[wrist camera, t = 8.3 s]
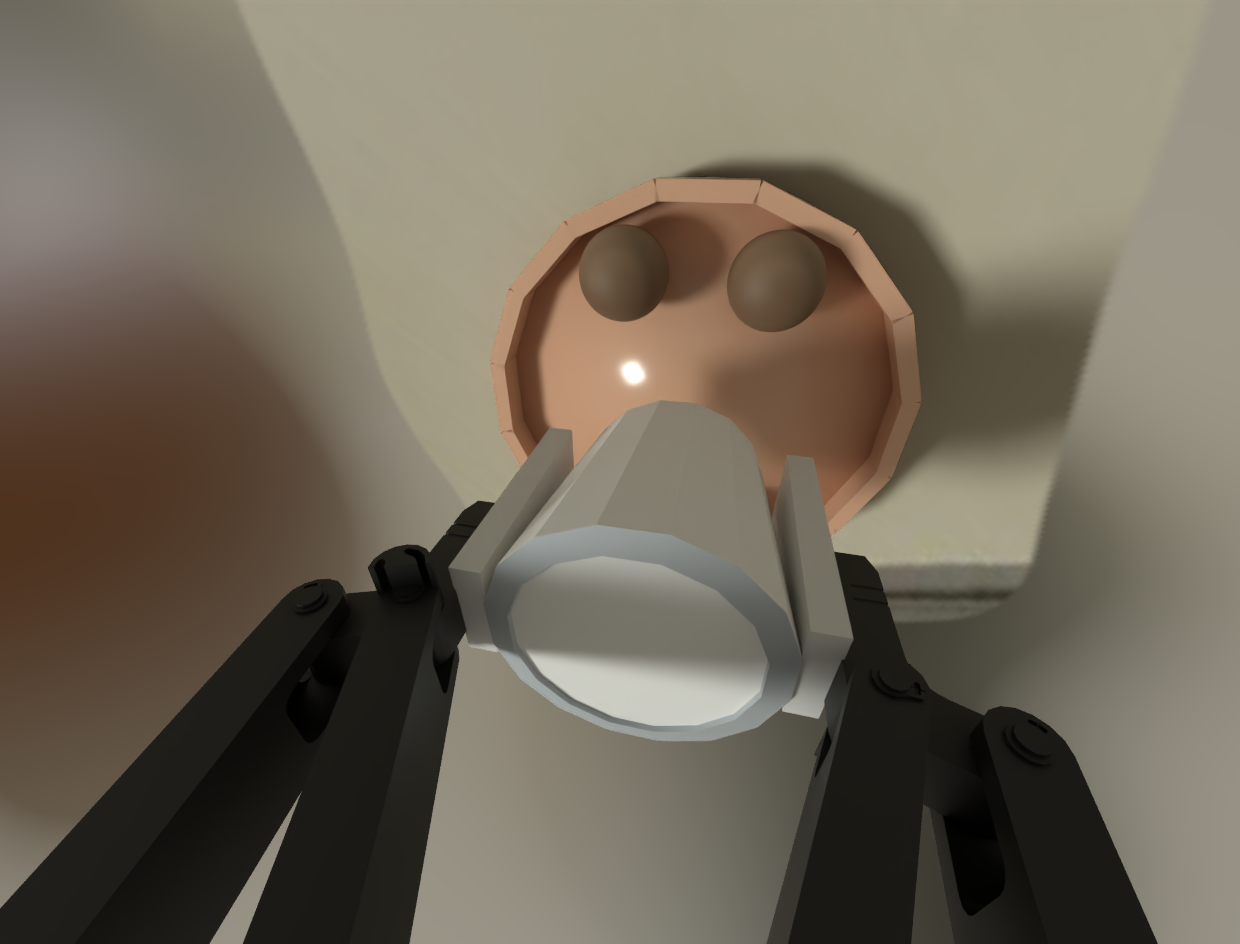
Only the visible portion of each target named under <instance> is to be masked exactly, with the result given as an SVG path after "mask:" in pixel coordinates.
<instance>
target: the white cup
mask: <svg viewBox="0 0 1240 944" xmlns="http://www.w3.org/2000/svg"><path fill="white" fill-rule="evenodd" d="M483 604H484V608H485V612H486V616H487V620H488V624H489V628H490V633H491V637H492V641H493V643H494V645H495V646H496V647H497V649H498V650H499V651H500V653H501V654H502V655H503V657H504V658H505V659H506V660H507V662H508V663H509V665H510V666H511V667H512V669H513V670H514V671H515V673H516V674H517V675H518V677H519V678H520V679H521V680H523V681H524V682H525V683H527V684H528V685H529V686H531V687H532V688H533V689H535V690H536V691H537V692H539V693H540V694H541V695H543V696H544V697H545V698H547V699H548V700H549V701H551V702H552V703H553V704H555V705H556V706H557V707H559V708H560V709H563V710H565V711H567V712H569V713H571V714H574V715H576V716H578V717H580V718H583V719H585V720H587V721H589V722H591V723H594V724H596V725H598V726H600V727H603V728H605V729H608V730H612V731H617V732H621V733H625V734H630V735H634V736H639V737H644V738H648V739H653V740H657V741H712V740H715V739H719V738H722V737H725V736H729V735H733V734H736V733H740V732H743V731H747V730H750V729H754V728H757V727H758V726H759V725H760V724H762V723H763V722H764V721H766V720H767V719H768V718H769V717H771V716H772V715H773V714H774V713H776V712H777V711H778V710H779V709H781V708H782V707H783V706H784V705H786V704H787V703H788V702H789V701H790V700H791V697H792V694H793V691H794V688H795V684H796V681H797V678H798V675H799V672H800V668H801V665H802V662H803V659H802V654H801V650H800V645H799V640H798V636H797V631H796V627H795V622H794V618H793V613H792V608H791V604H790V599H789V595H788V590H787V586H786V581H785V576H784V572H783V567H782V563H781V558H780V554H779V549H778V544H777V540H776V535H775V531H774V526H773V522H772V517H771V512H770V508H769V503H768V499H767V494H766V490H765V485H764V480H763V476H762V472H761V469H760V466H759V462H758V459H757V456H756V453H755V450H754V446H753V444H752V443H751V441H750V440H749V439H748V438H747V437H746V436H745V435H744V434H743V433H742V432H741V431H740V429H739V428H738V427H737V426H736V425H735V424H734V423H733V422H732V421H731V420H730V419H729V418H727V417H725V416H723V415H721V414H719V413H716V412H714V411H712V410H710V409H708V408H706V407H704V406H702V405H700V404H697V403H689V402H677V401H665V400H659V401H656V402H652V403H649V404H646V405H642V406H639V407H636V408H632V409H629V410H627V411H626V412H625V413H623V414H622V415H621V416H620V417H619V418H618V419H616V420H615V421H614V422H613V423H612V424H611V425H609V426H608V427H607V428H606V429H605V430H604V431H603V432H602V433H601V435H600V436H599V437H598V438H597V440H596V441H595V442H594V443H593V445H592V446H591V447H590V449H589V450H588V451H587V452H586V454H585V455H584V456H583V457H582V459H581V460H580V461H579V462H578V464H577V465H576V466H575V467H574V469H573V470H572V471H571V472H570V474H569V475H568V476H567V478H566V479H565V480H564V481H563V483H562V484H561V485H560V486H559V488H558V489H557V490H556V491H555V493H554V494H553V495H552V496H551V498H550V499H549V500H548V501H547V503H546V504H545V505H544V507H543V508H542V509H541V510H540V512H539V513H538V514H537V515H536V517H535V518H534V519H533V520H532V522H531V523H530V524H529V525H528V527H527V528H526V529H525V530H524V532H523V533H522V534H521V536H520V537H519V538H518V539H517V541H516V542H515V543H514V544H513V546H512V547H511V548H510V549H509V551H508V552H507V553H506V554H505V556H504V557H503V558H502V559H501V561H500V562H499V563H498V565H497V566H496V568H495V571H494V574H493V577H492V580H491V583H490V586H489V589H488V592H487V595H486V598H485V600H484V603H483Z"/></svg>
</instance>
